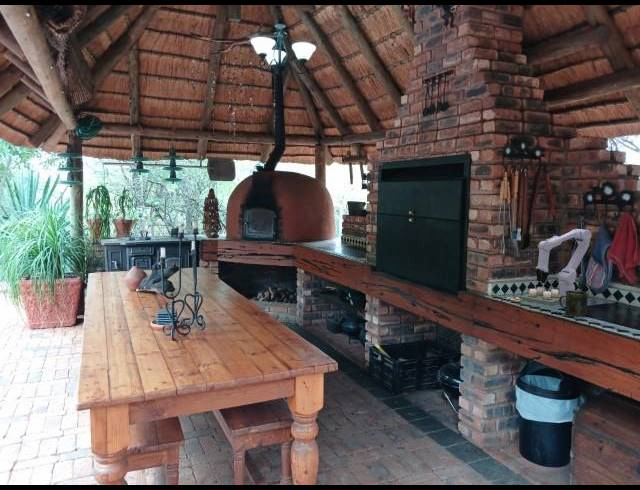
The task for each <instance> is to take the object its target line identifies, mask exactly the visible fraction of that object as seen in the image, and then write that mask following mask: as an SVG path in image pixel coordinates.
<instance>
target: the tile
mask: <svg viewBox="0 0 640 490" xmlns="http://www.w3.org/2000/svg"><path fill="white" fill-rule="evenodd" d="M519 297H520V296H519ZM519 297H517V296H509V297H506V298H507V299H506V300H508V299H510V300H509V301H513V300H514V302H521V301H524V300H523V299H519Z"/></svg>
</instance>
